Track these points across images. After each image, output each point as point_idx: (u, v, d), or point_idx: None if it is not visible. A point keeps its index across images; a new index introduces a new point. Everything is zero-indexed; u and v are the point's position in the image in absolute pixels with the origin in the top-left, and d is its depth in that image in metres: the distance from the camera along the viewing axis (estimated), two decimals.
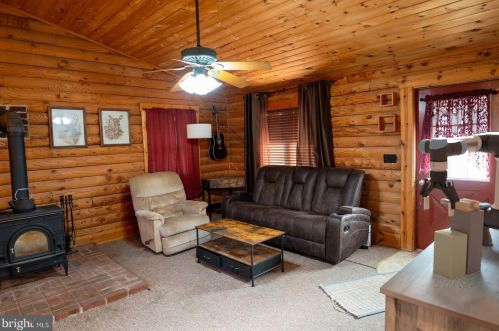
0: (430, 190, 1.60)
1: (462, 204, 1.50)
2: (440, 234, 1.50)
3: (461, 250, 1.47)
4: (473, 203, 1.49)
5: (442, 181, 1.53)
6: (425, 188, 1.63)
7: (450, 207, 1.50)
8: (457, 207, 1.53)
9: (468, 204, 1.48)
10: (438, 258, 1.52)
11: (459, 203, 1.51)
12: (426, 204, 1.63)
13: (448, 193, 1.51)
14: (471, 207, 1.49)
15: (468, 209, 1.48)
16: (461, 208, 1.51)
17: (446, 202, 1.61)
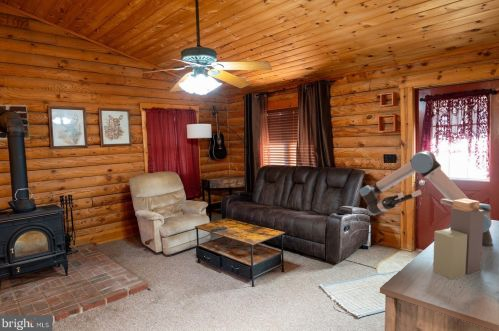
0: (404, 198, 1.92)
1: (462, 204, 1.50)
2: (440, 234, 1.50)
3: (461, 250, 1.47)
4: (473, 203, 1.49)
5: (389, 203, 1.94)
6: None
7: (397, 198, 1.83)
8: (457, 207, 1.53)
9: (468, 204, 1.48)
10: (438, 258, 1.52)
11: (459, 203, 1.51)
12: (416, 193, 1.86)
13: (391, 200, 1.89)
14: (471, 207, 1.49)
15: (468, 209, 1.48)
16: (461, 208, 1.51)
17: (446, 202, 1.61)
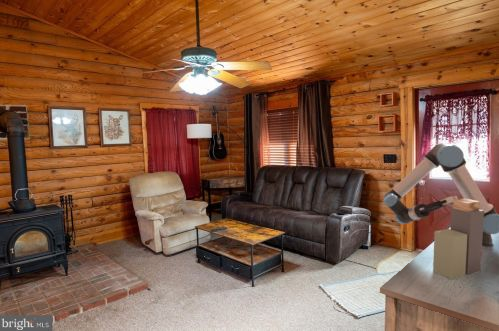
0: None
1: (462, 204, 1.50)
2: (440, 234, 1.50)
3: (461, 250, 1.47)
4: (473, 203, 1.49)
5: (422, 211, 1.72)
6: None
7: (445, 203, 1.60)
8: (457, 207, 1.53)
9: (468, 204, 1.48)
10: (438, 258, 1.52)
11: (459, 203, 1.51)
12: None
13: None
14: (471, 207, 1.49)
15: (468, 209, 1.48)
16: (461, 208, 1.51)
17: None
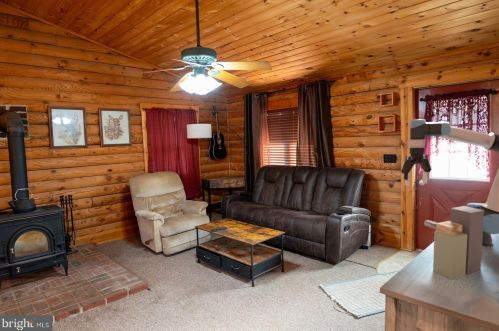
0: (422, 165, 1.82)
1: (445, 228, 1.48)
2: (440, 234, 1.50)
3: (461, 250, 1.47)
4: (456, 227, 1.47)
5: None
6: (426, 164, 1.83)
7: None
8: (440, 230, 1.50)
9: (451, 228, 1.46)
10: (438, 258, 1.52)
11: (442, 227, 1.49)
12: (424, 178, 1.84)
13: None
14: (454, 231, 1.47)
15: (451, 233, 1.46)
16: (444, 232, 1.49)
17: (430, 224, 1.59)
